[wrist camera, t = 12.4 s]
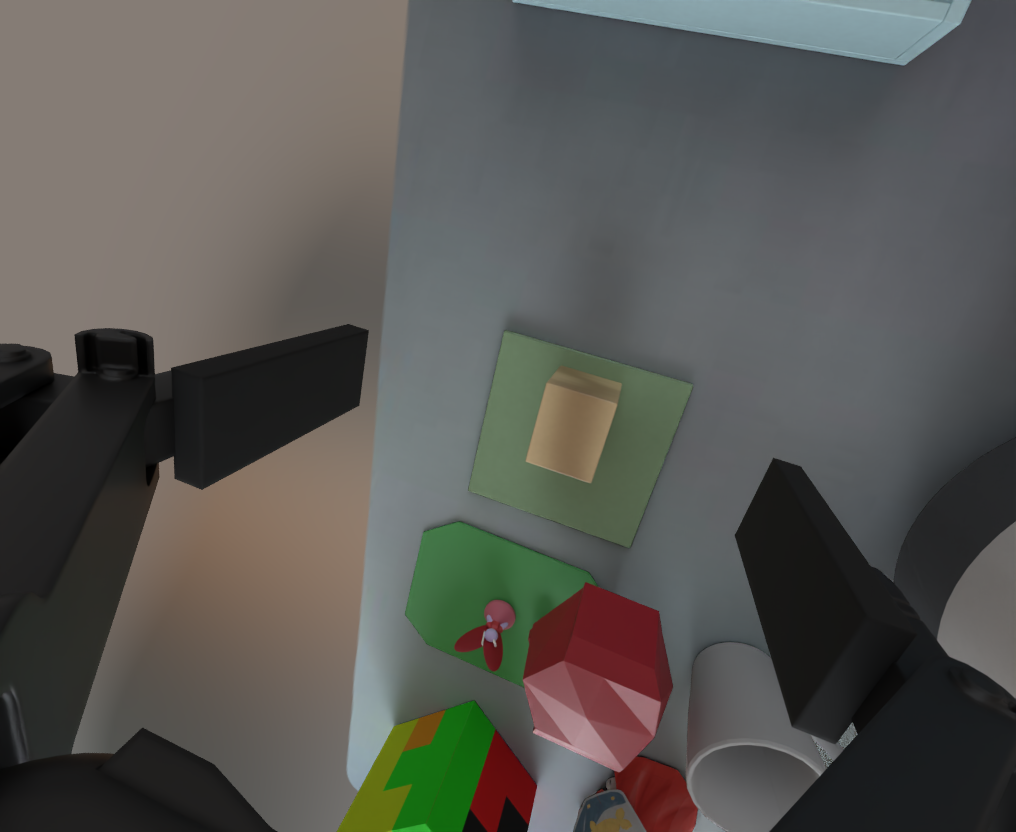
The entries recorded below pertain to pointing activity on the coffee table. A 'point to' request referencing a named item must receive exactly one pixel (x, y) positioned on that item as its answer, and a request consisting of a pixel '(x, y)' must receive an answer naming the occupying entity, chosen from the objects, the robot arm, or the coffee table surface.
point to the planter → (968, 566)
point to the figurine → (640, 802)
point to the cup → (745, 742)
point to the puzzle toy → (444, 779)
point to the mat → (625, 456)
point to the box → (796, 22)
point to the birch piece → (573, 423)
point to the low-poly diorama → (546, 639)
